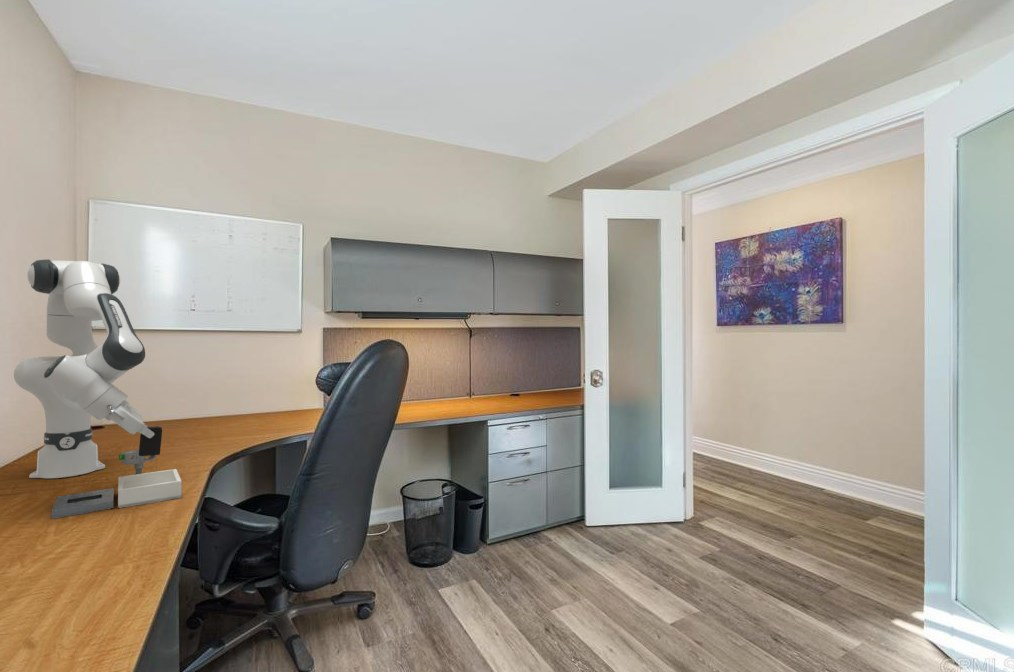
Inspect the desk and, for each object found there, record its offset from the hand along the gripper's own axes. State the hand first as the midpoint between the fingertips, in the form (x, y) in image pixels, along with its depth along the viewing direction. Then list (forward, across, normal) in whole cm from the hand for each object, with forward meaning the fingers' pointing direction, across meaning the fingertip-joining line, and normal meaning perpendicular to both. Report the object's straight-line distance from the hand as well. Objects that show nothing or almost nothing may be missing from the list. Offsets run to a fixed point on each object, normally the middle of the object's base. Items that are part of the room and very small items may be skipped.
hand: (152, 435), depth 140 cm
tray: (+12, 0, +13) cm, 17 cm away
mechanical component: (+10, +18, +14) cm, 25 cm away
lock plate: (+2, 0, +22) cm, 23 cm away
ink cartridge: (+4, +1, +4) cm, 6 cm away
